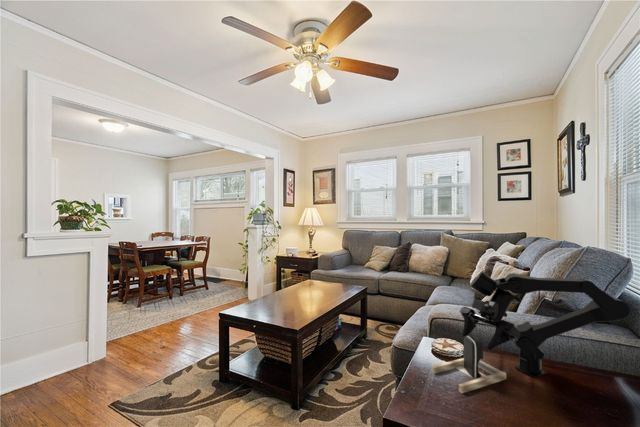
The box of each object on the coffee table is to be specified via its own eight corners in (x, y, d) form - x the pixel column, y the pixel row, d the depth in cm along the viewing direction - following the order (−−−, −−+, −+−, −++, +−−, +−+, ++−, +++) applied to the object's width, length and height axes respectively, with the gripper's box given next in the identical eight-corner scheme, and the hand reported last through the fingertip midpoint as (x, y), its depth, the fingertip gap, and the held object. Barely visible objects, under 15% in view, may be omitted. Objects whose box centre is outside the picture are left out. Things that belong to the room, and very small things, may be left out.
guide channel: (472, 361, 105) (472, 355, 105) (506, 379, 94) (506, 373, 94) (431, 372, 98) (431, 366, 98) (461, 393, 87) (461, 386, 87)
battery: (485, 379, 94) (485, 343, 94) (472, 378, 94) (472, 343, 94) (474, 367, 101) (474, 334, 101) (463, 367, 101) (463, 333, 101)
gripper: (463, 284, 107) (440, 318, 103) (514, 297, 90) (489, 340, 86) (478, 303, 111) (456, 337, 106) (530, 319, 93) (507, 361, 89)
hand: (475, 343), depth 97 cm, fingers open, 9 cm apart
